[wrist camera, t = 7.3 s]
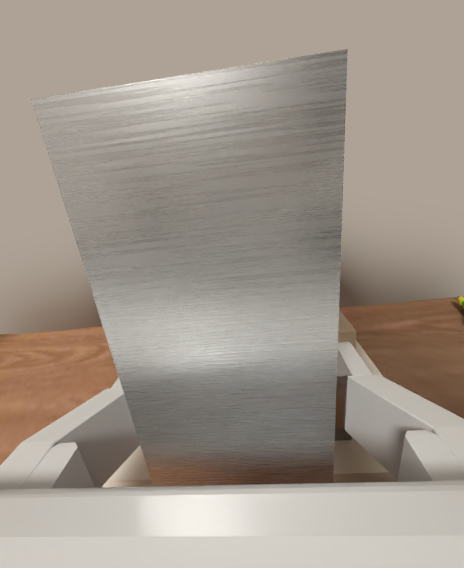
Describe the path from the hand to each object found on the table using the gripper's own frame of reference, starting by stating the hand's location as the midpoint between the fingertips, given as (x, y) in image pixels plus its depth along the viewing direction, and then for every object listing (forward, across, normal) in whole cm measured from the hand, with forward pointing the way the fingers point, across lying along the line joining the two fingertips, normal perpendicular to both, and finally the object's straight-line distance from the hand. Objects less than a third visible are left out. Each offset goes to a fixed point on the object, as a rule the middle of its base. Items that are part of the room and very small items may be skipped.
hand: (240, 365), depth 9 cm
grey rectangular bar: (-1, 0, +9) cm, 9 cm away
